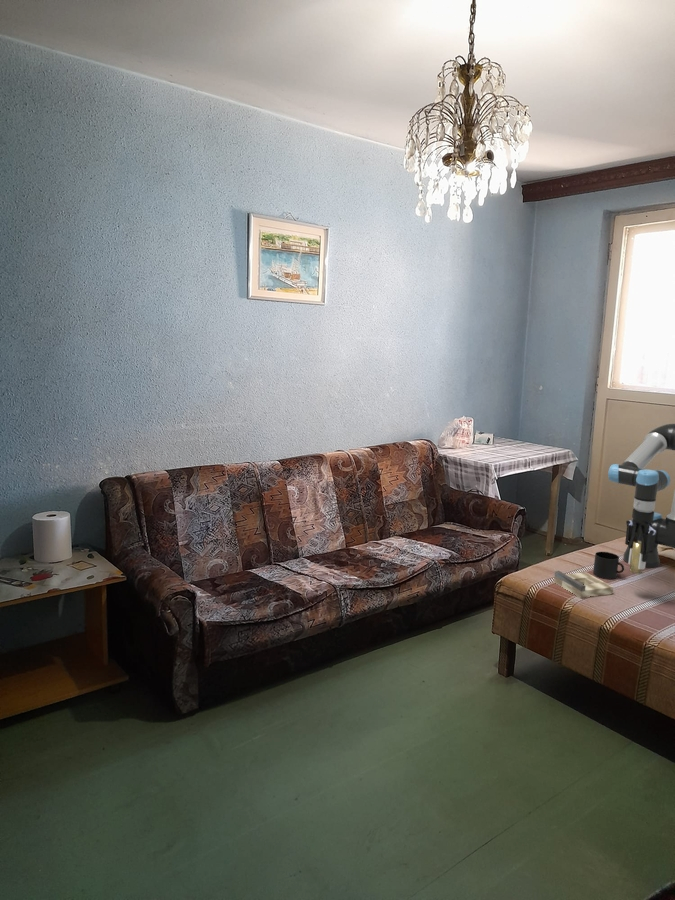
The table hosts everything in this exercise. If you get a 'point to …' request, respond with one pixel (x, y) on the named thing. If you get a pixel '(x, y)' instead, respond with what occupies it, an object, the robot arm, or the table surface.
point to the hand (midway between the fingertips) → (636, 566)
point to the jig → (576, 582)
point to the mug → (606, 565)
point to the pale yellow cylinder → (635, 557)
